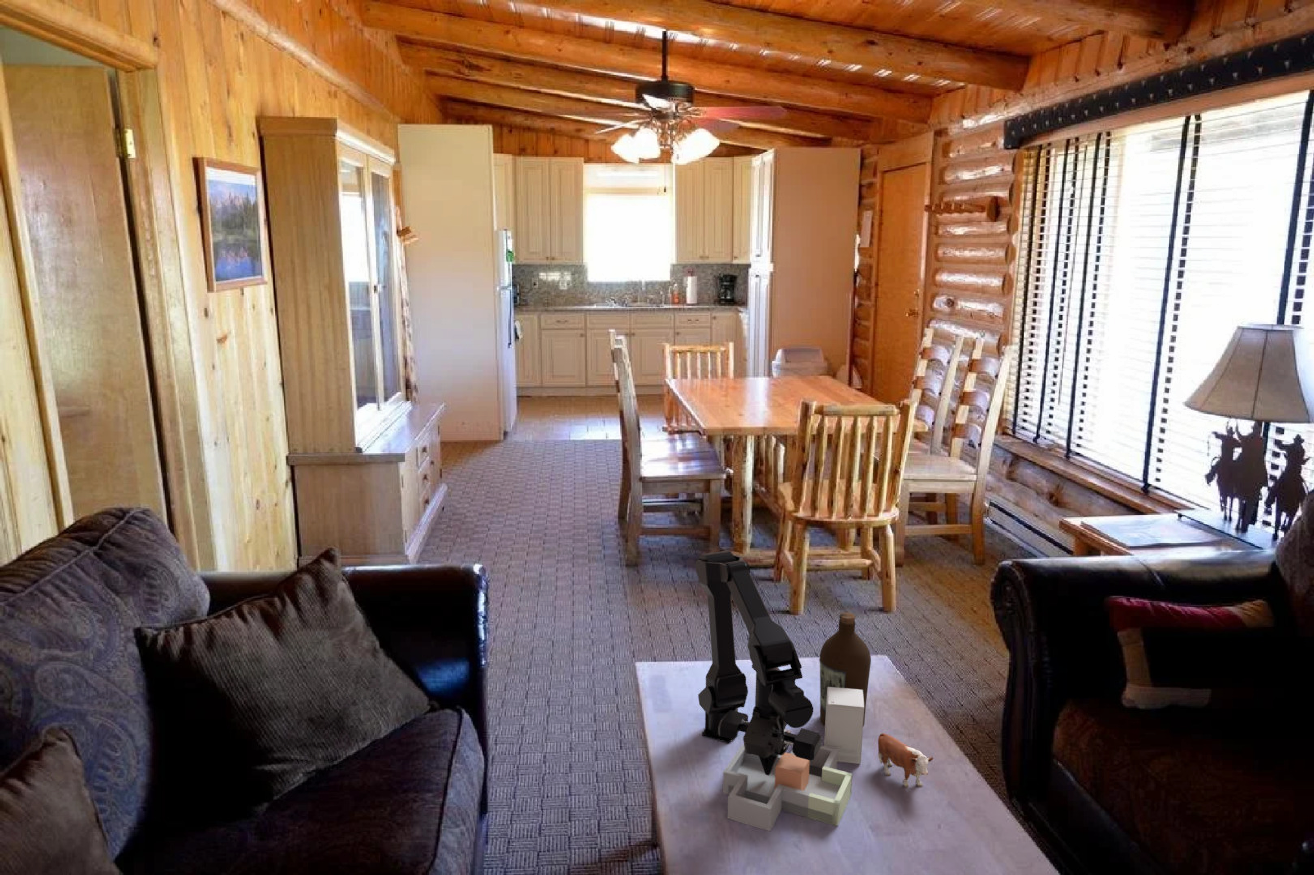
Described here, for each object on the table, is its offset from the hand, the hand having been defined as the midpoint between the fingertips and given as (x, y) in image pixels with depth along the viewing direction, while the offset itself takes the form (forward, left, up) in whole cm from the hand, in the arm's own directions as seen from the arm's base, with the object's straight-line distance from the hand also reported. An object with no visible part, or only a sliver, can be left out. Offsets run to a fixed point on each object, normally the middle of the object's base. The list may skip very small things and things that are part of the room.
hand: (768, 774), depth 166 cm
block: (+5, 0, -1) cm, 5 cm away
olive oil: (+7, +29, -3) cm, 30 cm away
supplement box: (+10, +18, -3) cm, 21 cm away
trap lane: (+4, 0, -3) cm, 5 cm away
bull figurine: (+23, +14, -3) cm, 27 cm away
